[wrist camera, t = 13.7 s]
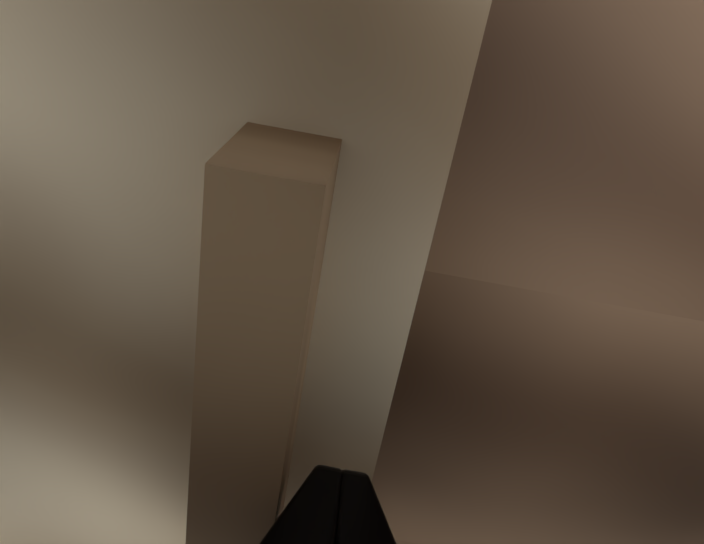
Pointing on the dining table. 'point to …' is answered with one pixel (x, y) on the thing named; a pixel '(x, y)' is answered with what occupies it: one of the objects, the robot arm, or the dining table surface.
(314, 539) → the robot arm
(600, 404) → the well board
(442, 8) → the sliding lid
